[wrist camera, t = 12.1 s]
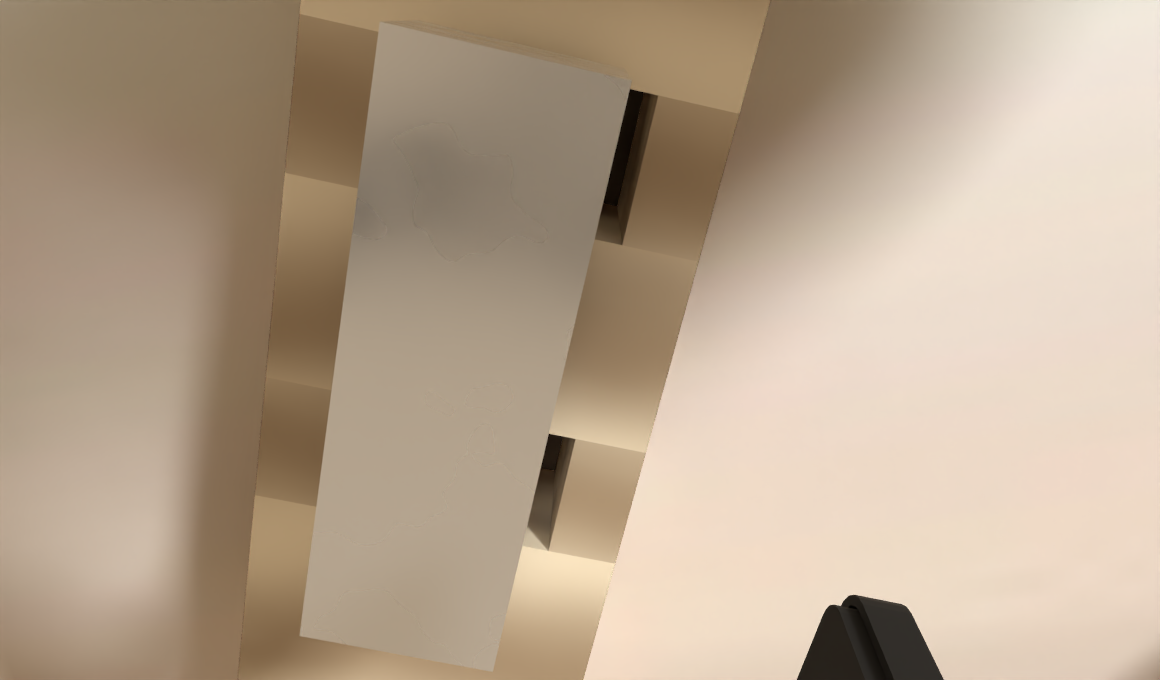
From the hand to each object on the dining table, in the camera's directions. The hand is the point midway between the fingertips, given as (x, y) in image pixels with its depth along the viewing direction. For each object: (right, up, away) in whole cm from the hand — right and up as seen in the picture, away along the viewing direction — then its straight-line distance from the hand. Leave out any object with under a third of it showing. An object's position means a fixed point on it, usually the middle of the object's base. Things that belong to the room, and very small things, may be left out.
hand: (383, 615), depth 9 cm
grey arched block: (0, +5, +14) cm, 15 cm away
